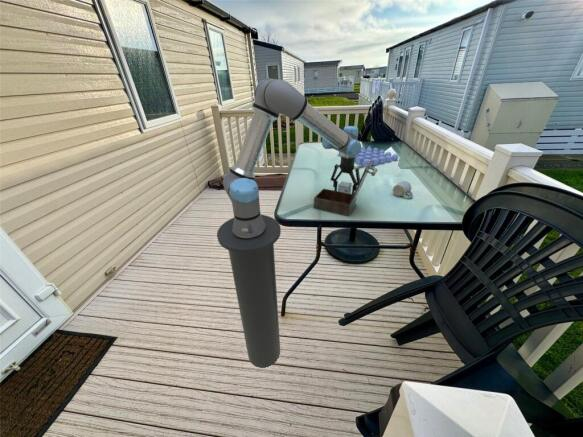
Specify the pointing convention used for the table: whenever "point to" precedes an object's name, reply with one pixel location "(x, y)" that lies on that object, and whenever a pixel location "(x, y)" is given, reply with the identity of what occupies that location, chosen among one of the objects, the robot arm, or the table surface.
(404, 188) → the ceramic mug
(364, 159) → the purple egg tray
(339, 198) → the brown wooden box
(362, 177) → the lid
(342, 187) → the product carton
